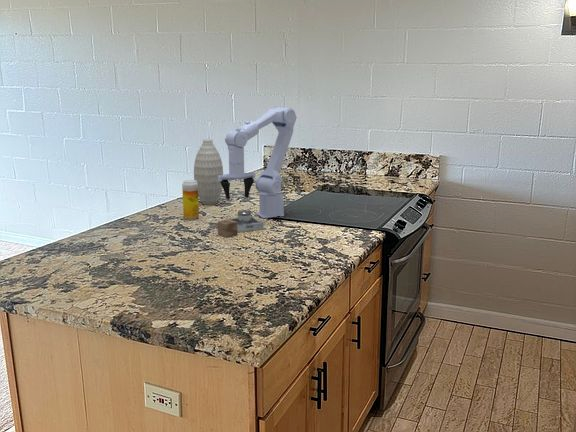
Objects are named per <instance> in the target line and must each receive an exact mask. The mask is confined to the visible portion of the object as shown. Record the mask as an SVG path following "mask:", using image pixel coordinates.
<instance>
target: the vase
mask: <svg viewBox="0 0 576 432" xmlns="http://www.w3.org/2000/svg"><path fill="white" fill-rule="evenodd" d="M220 155H221V154H220V153H219V151H218V150H217V148H216V146H215V144H214V143H213V139H211V138H205V139H203V140H202V144H201V146H200V147H199V149H198V151H197V153H196V155H195V160H194V164H193V165H194V166H193V180H196V181H197V183H198V199H199V201H200V202H201V203H202V204H203V205H205V206H206V205H207V206H211V205H212V206H213V205H216V204H217V203H218V201H219V200H220V196H221V195H222V191H223V187H222V185H221V183H220V181H218V176H219V175H224V168H223V167H224V165H223V162H222V158H221V156H220Z"/></svg>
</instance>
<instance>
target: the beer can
mask: <svg viewBox="0 0 576 432" xmlns="http://www.w3.org/2000/svg"><path fill="white" fill-rule="evenodd" d="M181 185H182V186H181V187H182V206H183V207H182V209H183V211H182V212H183V218H184V219H185V220H189V221H192V220H197V219H198V218H199V217H200V208H199V207H200V204H199V201H200V200H199V197H198V183H197V181H196V180H194V179H186V180H183V181H182V184H181Z"/></svg>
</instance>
